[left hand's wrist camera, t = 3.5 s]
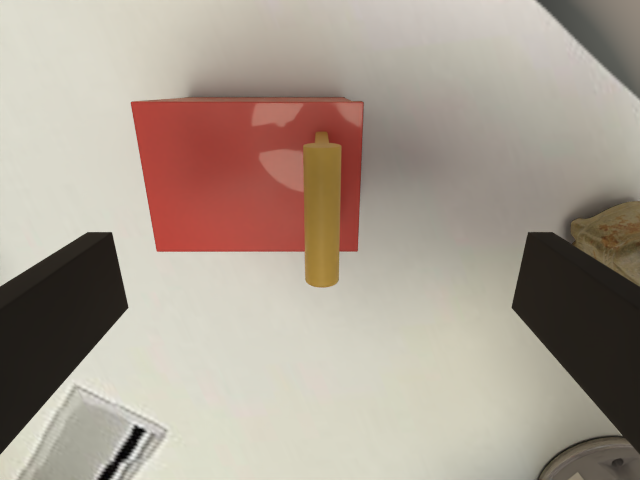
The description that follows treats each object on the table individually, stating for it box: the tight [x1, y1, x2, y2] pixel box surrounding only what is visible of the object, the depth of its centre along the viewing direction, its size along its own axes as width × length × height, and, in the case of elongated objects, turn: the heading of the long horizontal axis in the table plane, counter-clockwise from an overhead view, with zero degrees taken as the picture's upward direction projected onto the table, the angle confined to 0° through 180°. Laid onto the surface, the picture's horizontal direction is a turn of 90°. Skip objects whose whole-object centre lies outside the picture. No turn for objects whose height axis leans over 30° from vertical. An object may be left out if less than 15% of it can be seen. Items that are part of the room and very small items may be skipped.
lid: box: [131, 101, 364, 287], centre depth 20 cm, size 13×9×9 cm
